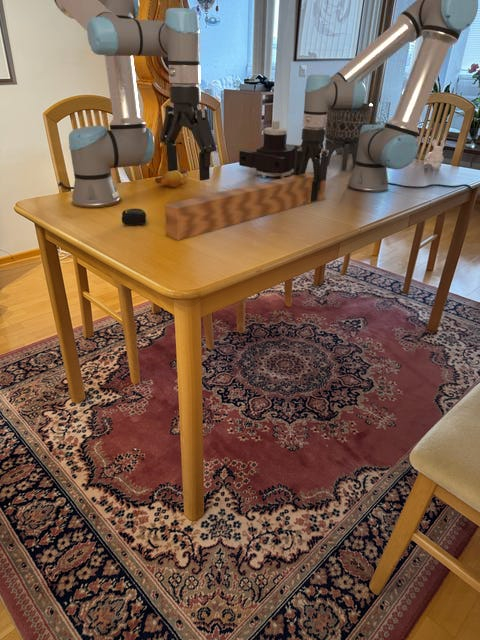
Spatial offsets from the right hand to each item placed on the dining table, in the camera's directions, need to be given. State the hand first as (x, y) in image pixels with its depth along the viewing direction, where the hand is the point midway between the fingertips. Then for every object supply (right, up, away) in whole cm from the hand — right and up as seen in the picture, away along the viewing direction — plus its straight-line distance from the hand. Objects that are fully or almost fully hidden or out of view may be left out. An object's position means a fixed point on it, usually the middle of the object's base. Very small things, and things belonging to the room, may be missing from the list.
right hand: (307, 198), depth 160 cm
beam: (-19, -9, -16) cm, 26 cm away
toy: (-49, +9, +15) cm, 52 cm away
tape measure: (-54, -15, -27) cm, 62 cm away
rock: (+34, +46, +81) cm, 99 cm away
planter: (+24, +28, +50) cm, 62 cm away
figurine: (+65, +27, +50) cm, 87 cm away
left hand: (-38, -4, -40) cm, 55 cm away
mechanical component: (-6, +21, +36) cm, 42 cm away
